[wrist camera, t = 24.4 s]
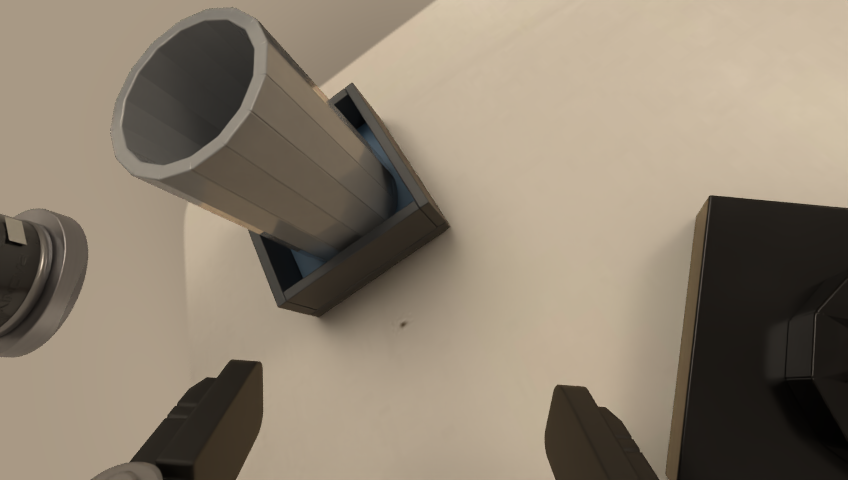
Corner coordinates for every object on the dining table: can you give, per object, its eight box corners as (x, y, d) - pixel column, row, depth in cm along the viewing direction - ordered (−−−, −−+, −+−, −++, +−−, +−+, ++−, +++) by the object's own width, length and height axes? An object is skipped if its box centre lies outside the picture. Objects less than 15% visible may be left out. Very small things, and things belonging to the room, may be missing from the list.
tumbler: (315, 286, 22) (126, 217, 13) (277, 194, 24) (99, 84, 16) (418, 218, 21) (293, 93, 12) (368, 130, 24) (234, -25, 15)
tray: (318, 317, 22) (277, 307, 19) (268, 200, 26) (226, 176, 23) (451, 227, 21) (429, 201, 18) (379, 117, 25) (352, 81, 22)
